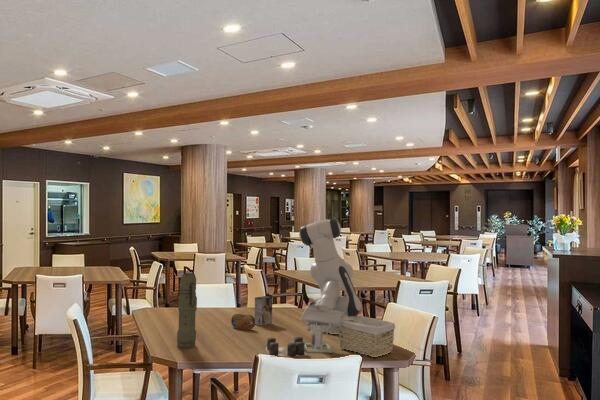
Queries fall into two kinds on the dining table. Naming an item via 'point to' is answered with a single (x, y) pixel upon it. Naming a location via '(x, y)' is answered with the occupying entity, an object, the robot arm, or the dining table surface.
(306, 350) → the tray
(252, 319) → the tin
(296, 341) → the spacer board
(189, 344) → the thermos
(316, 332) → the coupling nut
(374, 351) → the storage basket
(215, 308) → the dining table surface
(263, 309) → the coffee box
